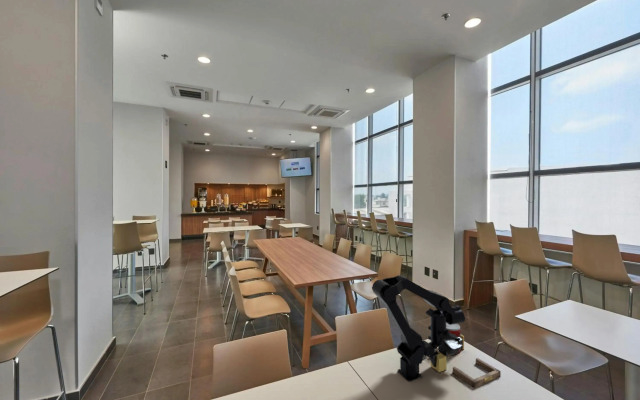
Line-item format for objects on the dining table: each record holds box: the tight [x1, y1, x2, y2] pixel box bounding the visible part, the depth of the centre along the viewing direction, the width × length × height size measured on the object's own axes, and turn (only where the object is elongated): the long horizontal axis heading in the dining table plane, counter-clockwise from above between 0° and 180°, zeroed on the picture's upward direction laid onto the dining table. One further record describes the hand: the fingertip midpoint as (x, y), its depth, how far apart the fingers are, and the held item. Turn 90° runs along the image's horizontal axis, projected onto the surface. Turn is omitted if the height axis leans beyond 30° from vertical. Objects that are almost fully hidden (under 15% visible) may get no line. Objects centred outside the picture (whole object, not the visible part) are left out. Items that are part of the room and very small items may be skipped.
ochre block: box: [430, 350, 448, 373], centre depth 103 cm, size 4×4×5 cm
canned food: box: [446, 323, 461, 353], centre depth 115 cm, size 8×8×11 cm
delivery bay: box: [452, 357, 502, 389], centre depth 99 cm, size 14×9×2 cm, turn 114°
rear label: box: [460, 333, 465, 351], centre depth 118 cm, size 1×5×6 cm, turn 24°
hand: (438, 365), depth 103 cm, fingers closed on ochre block, 4 cm apart
